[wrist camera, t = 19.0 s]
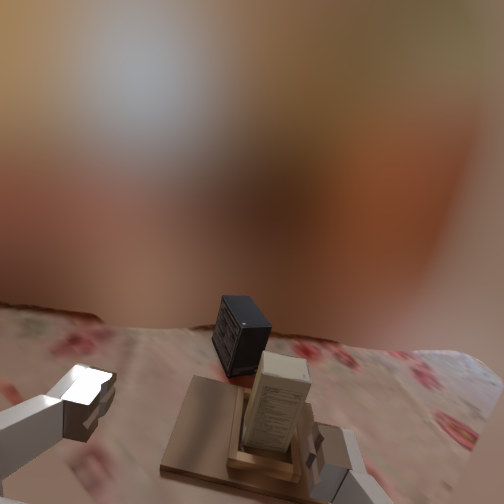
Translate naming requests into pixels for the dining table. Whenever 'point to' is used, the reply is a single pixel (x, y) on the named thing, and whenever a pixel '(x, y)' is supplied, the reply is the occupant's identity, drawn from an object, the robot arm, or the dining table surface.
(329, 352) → the dining table surface
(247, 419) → the skincare box
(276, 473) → the wooden board with frame
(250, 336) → the small box
